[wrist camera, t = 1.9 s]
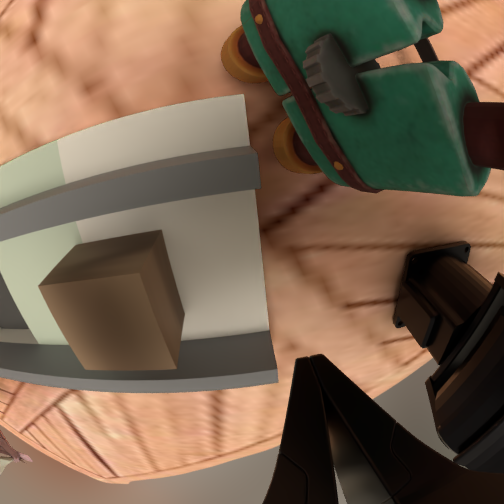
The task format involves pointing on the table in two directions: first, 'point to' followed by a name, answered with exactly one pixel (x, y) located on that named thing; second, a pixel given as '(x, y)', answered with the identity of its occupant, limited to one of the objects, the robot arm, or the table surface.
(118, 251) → the walnut block
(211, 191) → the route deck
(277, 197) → the table surface
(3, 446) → the flower
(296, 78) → the binoculars
